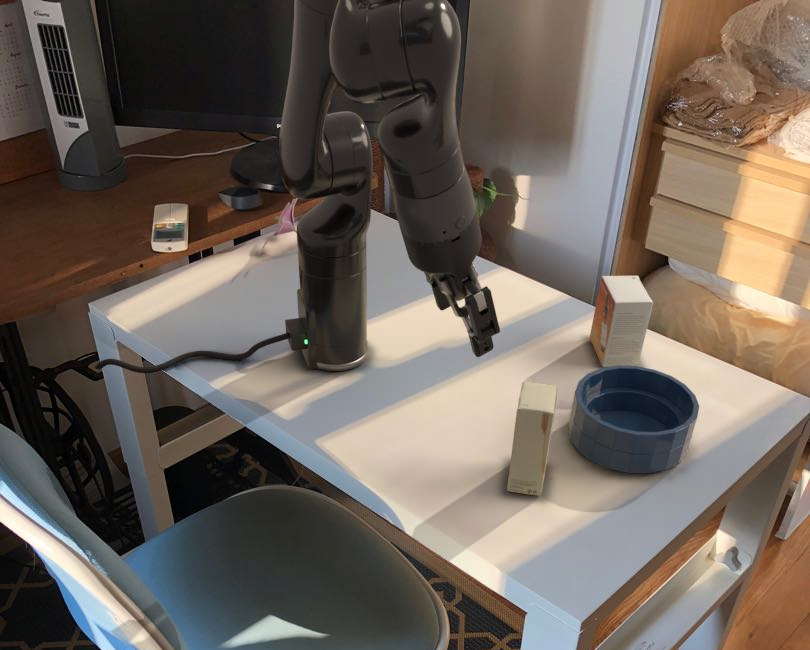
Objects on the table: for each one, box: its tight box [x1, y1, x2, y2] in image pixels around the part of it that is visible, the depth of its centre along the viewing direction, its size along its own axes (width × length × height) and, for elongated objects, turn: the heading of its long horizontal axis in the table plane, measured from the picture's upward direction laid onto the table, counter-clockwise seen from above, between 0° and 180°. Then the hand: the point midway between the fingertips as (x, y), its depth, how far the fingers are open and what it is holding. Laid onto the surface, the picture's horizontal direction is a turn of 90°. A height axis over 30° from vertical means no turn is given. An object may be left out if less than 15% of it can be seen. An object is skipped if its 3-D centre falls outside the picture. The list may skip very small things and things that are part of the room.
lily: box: [258, 197, 298, 255], centre depth 156 cm, size 12×12×10 cm
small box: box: [589, 275, 654, 368], centre depth 132 cm, size 8×6×10 cm
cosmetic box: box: [506, 380, 559, 497], centre depth 109 cm, size 6×4×12 cm
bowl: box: [567, 365, 700, 474], centre depth 118 cm, size 15×15×6 cm
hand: (465, 328), depth 101 cm, fingers open, 8 cm apart
